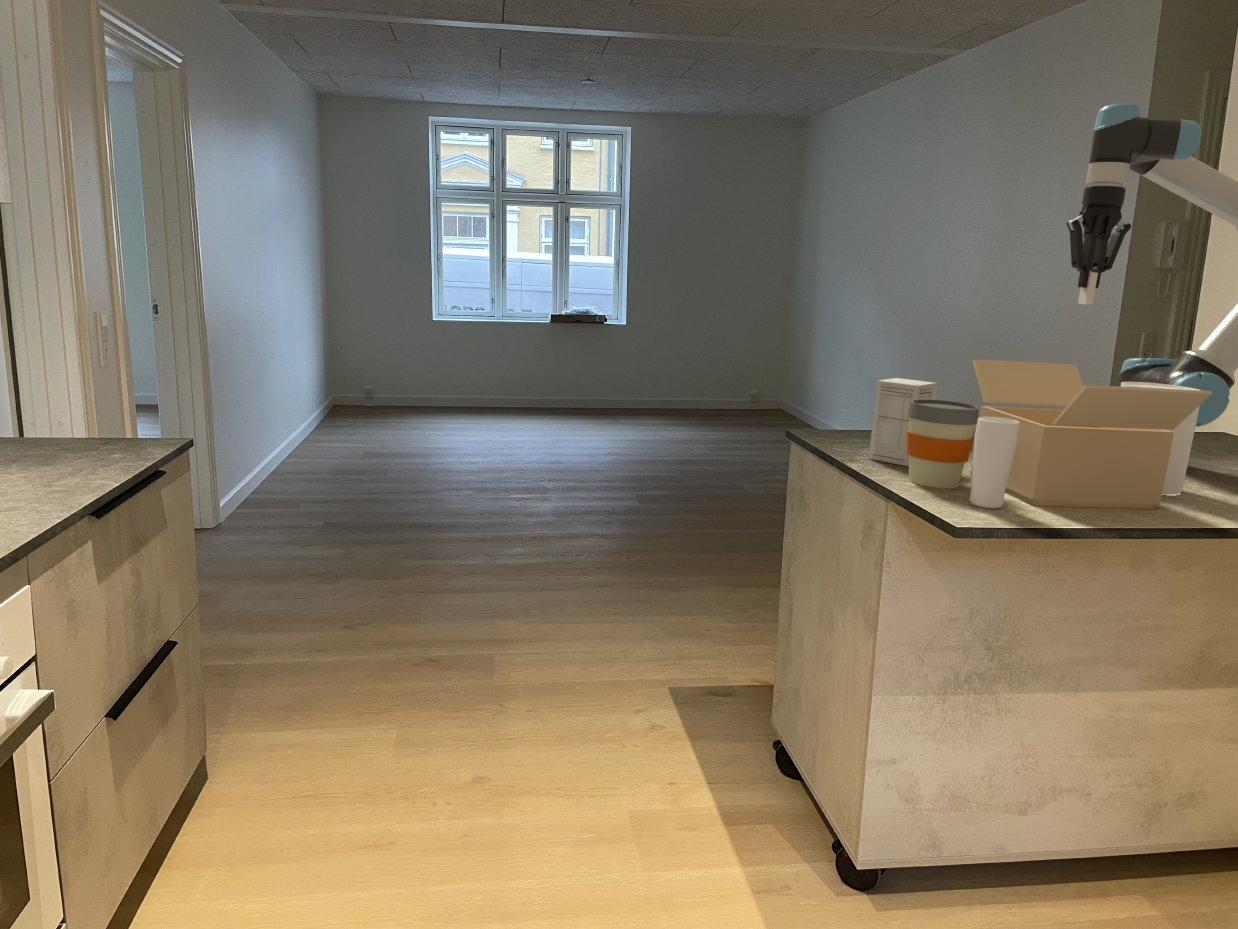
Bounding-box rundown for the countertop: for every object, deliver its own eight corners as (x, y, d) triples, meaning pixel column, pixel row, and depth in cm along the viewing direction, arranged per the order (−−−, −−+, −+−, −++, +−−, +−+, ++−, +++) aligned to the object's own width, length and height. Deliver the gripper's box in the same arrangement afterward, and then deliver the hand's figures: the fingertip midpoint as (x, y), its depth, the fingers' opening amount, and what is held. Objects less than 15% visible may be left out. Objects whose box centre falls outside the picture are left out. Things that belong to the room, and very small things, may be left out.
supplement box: (929, 462, 187) (940, 382, 183) (909, 467, 180) (920, 385, 176) (887, 453, 193) (896, 376, 189) (866, 458, 186) (876, 379, 183)
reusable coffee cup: (884, 476, 170) (894, 399, 167) (930, 472, 176) (940, 398, 173) (936, 493, 160) (948, 410, 156) (983, 488, 166) (995, 409, 162)
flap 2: (1210, 390, 145) (1212, 393, 145) (1172, 426, 153) (1173, 429, 153) (1085, 384, 143) (1086, 387, 142) (1053, 421, 151) (1054, 424, 151)
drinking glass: (957, 499, 156) (970, 415, 152) (994, 500, 156) (1007, 417, 153) (976, 510, 149) (989, 422, 146) (1014, 511, 150) (1028, 424, 146)
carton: (1083, 479, 179) (1095, 411, 176) (1158, 509, 157) (1174, 432, 154) (970, 475, 176) (981, 405, 173) (1031, 505, 155) (1044, 426, 152)
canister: (1183, 500, 166) (1205, 394, 161) (1102, 487, 172) (1121, 385, 168) (1179, 486, 177) (1199, 387, 173) (1103, 475, 184) (1121, 379, 179)
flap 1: (1090, 405, 176) (1088, 407, 176) (1076, 364, 181) (1074, 366, 181) (985, 400, 173) (983, 402, 174) (973, 359, 178) (972, 360, 179)
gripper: (1123, 189, 184) (1102, 304, 189) (1064, 185, 183) (1045, 301, 188) (1147, 187, 177) (1125, 306, 182) (1086, 182, 175) (1066, 303, 181)
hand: (1085, 304), depth 185 cm, fingers closed
